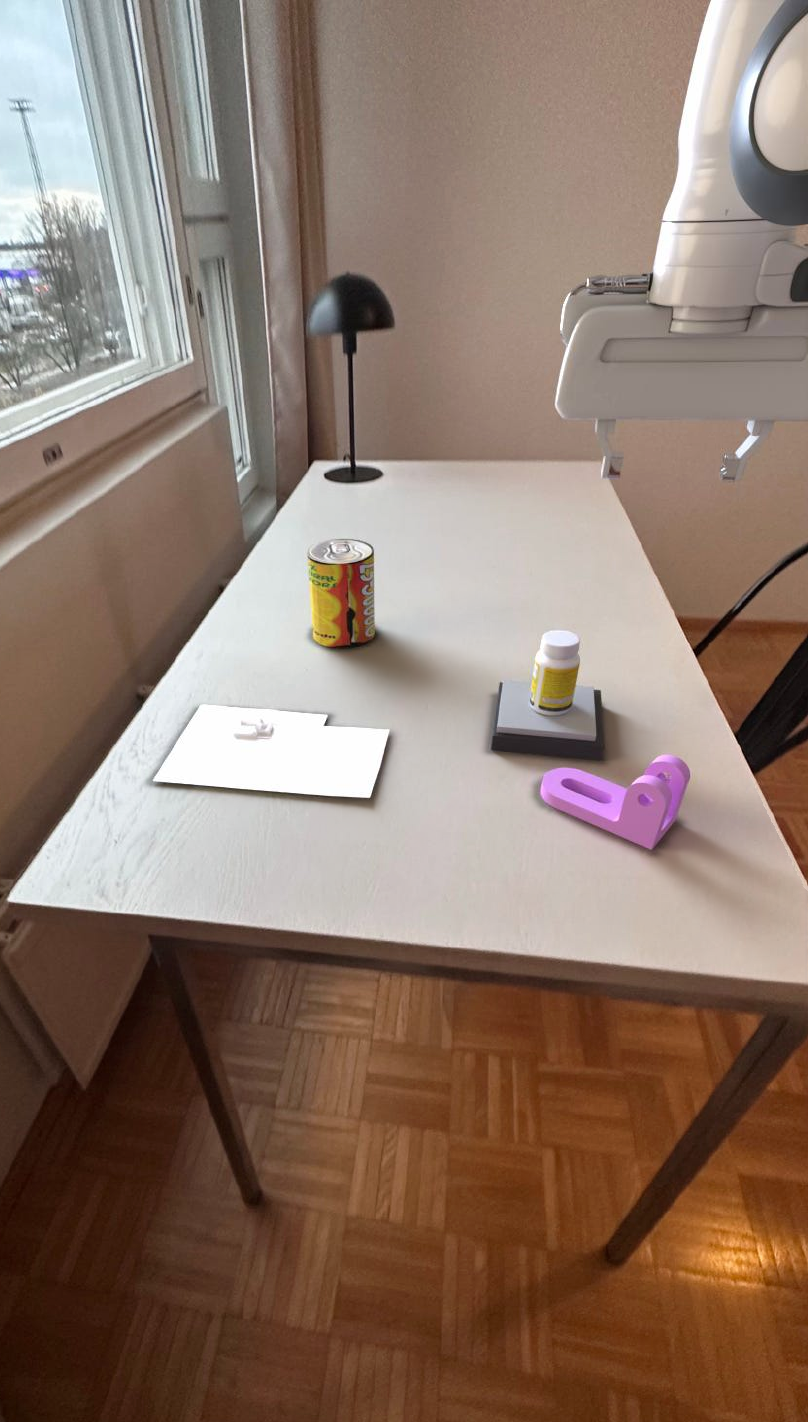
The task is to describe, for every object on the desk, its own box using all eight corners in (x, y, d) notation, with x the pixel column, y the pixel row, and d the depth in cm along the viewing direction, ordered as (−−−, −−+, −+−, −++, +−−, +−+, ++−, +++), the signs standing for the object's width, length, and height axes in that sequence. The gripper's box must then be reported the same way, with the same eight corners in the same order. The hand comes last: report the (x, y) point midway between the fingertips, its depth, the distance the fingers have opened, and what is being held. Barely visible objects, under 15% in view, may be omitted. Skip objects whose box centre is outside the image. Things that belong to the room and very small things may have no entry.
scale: (597, 704, 89) (602, 683, 87) (601, 760, 80) (606, 739, 79) (497, 696, 91) (500, 676, 90) (490, 750, 83) (493, 729, 81)
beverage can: (318, 651, 102) (313, 566, 94) (308, 624, 109) (302, 542, 101) (381, 643, 103) (380, 559, 96) (367, 616, 110) (365, 535, 102)
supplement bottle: (580, 708, 83) (593, 640, 78) (549, 721, 82) (561, 652, 76) (550, 690, 87) (561, 624, 81) (520, 703, 85) (529, 635, 79)
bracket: (675, 820, 72) (694, 763, 68) (651, 850, 69) (670, 792, 65) (557, 771, 79) (567, 716, 75) (530, 797, 76) (539, 741, 72)
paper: (149, 788, 80) (147, 780, 79) (195, 705, 92) (193, 698, 92) (377, 801, 76) (377, 793, 76) (392, 713, 89) (392, 706, 88)
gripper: (567, 279, 52) (540, 486, 61) (888, 270, 48) (809, 493, 57) (567, 272, 57) (542, 465, 66) (860, 263, 53) (790, 470, 62)
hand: (668, 478), depth 61 cm, fingers open, 8 cm apart
